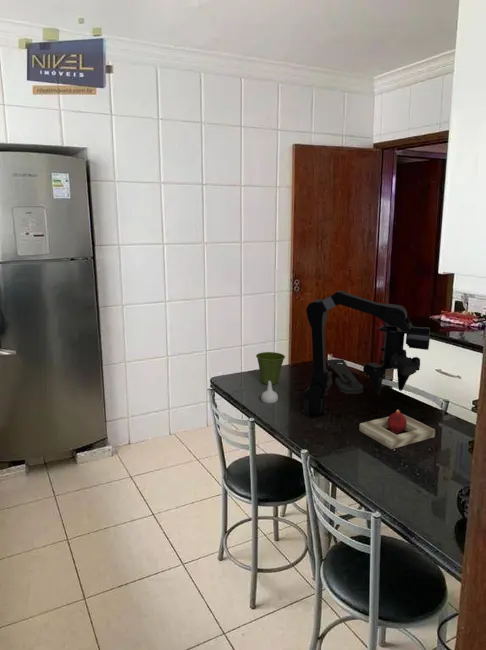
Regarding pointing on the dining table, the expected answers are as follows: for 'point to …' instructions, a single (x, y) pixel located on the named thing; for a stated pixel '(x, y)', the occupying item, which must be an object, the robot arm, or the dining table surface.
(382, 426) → the cutout board
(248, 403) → the dining table surface
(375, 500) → the dining table surface
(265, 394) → the garlic bulb
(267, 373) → the plant pot
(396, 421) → the onion
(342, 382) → the zipper pull
